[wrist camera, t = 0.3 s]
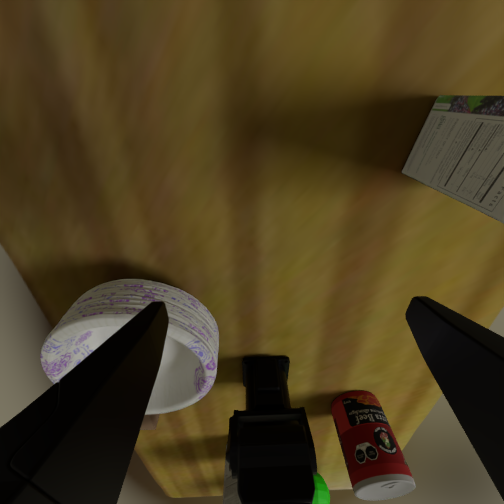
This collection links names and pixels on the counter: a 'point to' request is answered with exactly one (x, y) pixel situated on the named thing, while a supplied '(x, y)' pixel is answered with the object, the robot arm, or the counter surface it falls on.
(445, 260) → the counter surface
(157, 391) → the paper bowls
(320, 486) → the plastic bottle
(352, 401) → the canned food
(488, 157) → the syrup box
